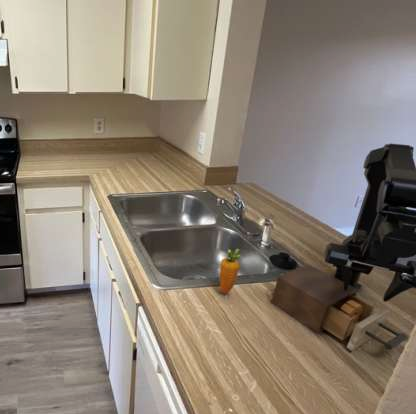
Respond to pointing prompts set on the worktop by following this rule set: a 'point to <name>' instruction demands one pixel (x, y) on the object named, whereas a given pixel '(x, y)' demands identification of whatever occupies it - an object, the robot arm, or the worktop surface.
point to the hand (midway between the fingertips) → (364, 295)
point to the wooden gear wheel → (352, 310)
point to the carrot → (229, 271)
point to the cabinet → (309, 295)
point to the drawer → (359, 325)
